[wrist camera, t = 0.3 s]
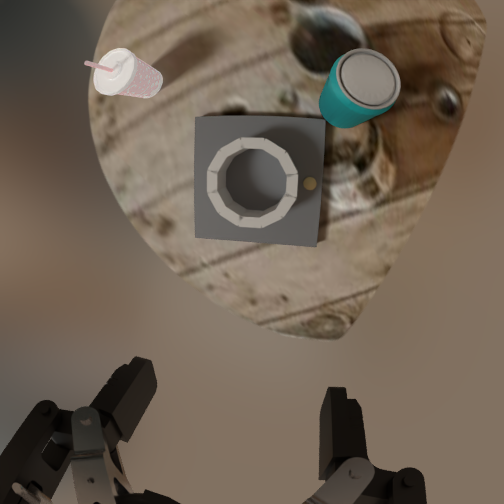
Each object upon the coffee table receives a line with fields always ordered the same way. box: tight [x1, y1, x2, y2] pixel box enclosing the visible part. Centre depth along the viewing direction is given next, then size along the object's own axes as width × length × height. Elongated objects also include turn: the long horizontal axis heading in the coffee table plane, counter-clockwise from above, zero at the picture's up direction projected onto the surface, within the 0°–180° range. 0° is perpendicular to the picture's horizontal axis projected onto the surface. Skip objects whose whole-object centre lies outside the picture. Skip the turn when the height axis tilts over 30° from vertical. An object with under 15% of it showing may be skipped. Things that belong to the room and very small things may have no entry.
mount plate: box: [194, 116, 326, 247], centre depth 33 cm, size 16×16×6 cm
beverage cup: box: [85, 48, 163, 98], centre depth 26 cm, size 6×6×14 cm
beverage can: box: [319, 49, 401, 128], centre depth 24 cm, size 6×6×15 cm
